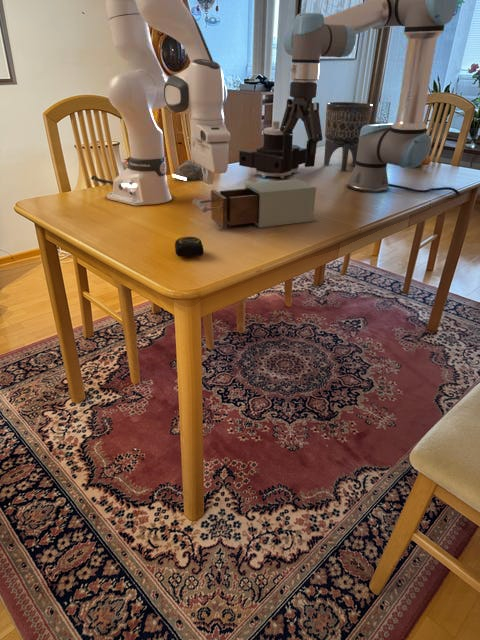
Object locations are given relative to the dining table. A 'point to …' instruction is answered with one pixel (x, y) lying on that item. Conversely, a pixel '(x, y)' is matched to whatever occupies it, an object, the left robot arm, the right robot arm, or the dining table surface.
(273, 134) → the mechanical component
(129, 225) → the dining table surface
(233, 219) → the drawer
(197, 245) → the tape measure
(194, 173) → the rock
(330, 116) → the planter
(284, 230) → the dining table surface
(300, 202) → the cabinet
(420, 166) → the toy
